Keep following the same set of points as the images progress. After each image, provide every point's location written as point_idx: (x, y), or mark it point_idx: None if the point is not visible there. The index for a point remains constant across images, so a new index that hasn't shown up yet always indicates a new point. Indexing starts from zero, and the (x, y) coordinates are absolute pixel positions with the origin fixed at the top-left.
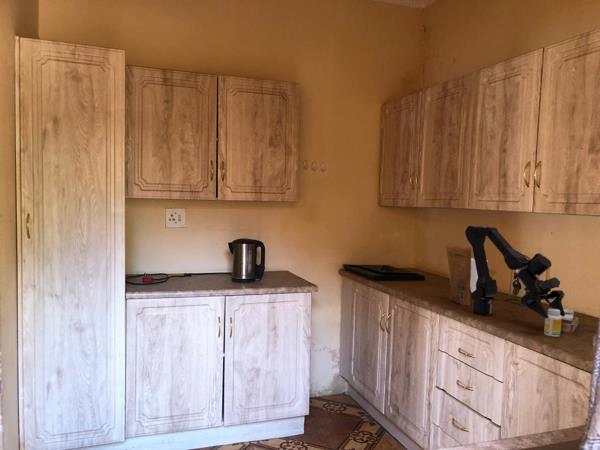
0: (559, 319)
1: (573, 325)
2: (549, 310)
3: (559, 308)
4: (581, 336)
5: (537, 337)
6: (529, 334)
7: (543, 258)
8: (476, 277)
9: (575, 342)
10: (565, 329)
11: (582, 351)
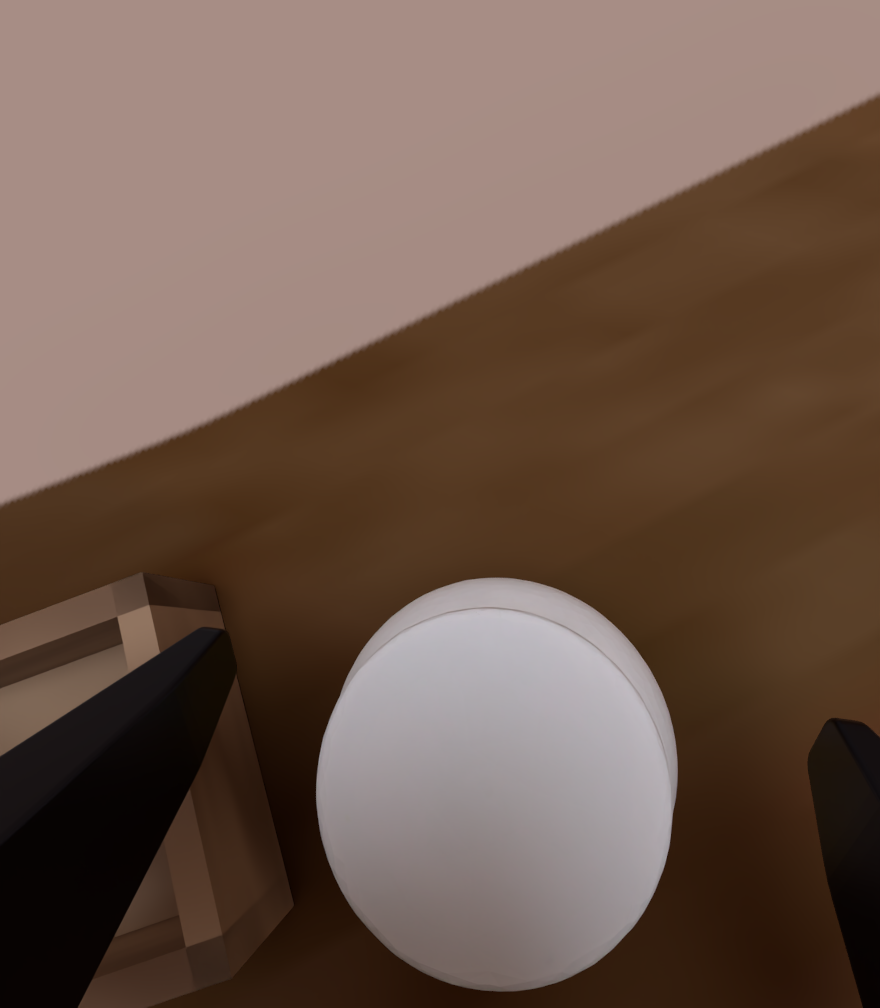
0: (532, 583)
1: (104, 590)
2: (661, 856)
3: (95, 814)
4: (206, 486)
5: None
6: None
7: None
8: None
9: (557, 376)
10: None
11: (848, 156)
